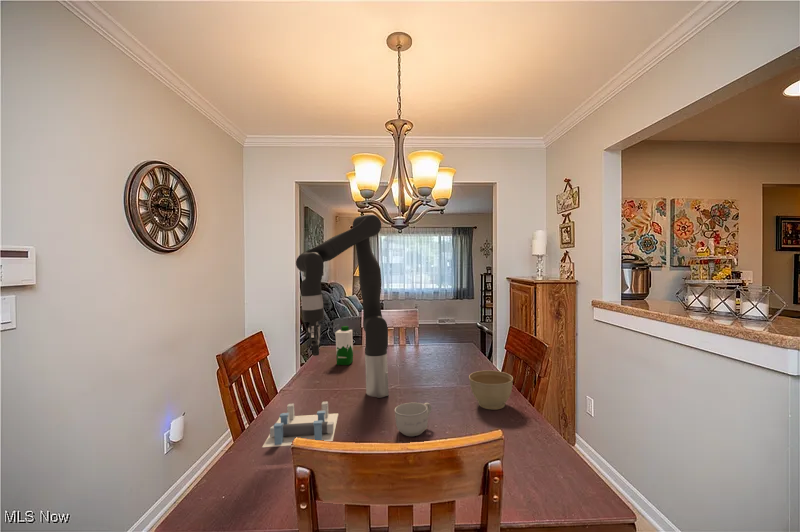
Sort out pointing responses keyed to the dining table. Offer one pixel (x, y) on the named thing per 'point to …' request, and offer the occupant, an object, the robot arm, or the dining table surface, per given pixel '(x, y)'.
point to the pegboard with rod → (292, 419)
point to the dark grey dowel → (303, 429)
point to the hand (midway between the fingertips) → (316, 354)
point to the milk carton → (344, 346)
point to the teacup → (412, 418)
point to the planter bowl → (491, 388)
